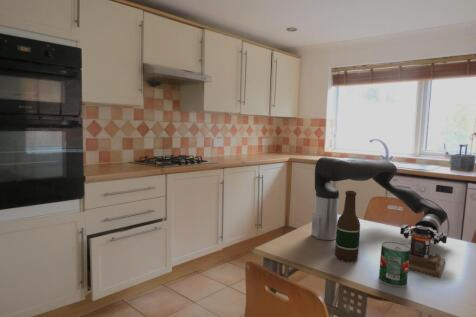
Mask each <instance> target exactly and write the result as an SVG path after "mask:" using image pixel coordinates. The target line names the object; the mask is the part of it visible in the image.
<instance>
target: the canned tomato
mask: <svg viewBox="0 0 476 317" xmlns="http://www.w3.org/2000/svg"><path fill="white" fill-rule="evenodd" d="M380 249H381V250H380V260H379V270H378V271H379V273H378V280H379V281H380V282H381V283H383V284H385V285H387V286H391V287H396V288H403V287H406V286H407V285H408V276H409V275H408V274H409V270H408V267H409V256H410V246H408V245H407V244H405V243H401V242H397V241H383V242H382V243H381V248H380Z"/></svg>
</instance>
